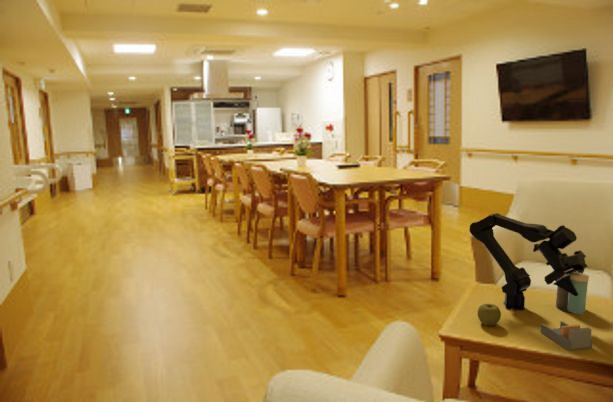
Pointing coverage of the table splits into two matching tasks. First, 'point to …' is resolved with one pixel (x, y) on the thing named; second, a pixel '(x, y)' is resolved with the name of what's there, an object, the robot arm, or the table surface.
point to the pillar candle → (562, 299)
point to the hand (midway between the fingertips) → (581, 293)
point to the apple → (489, 314)
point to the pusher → (566, 330)
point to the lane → (576, 337)
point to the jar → (578, 302)
